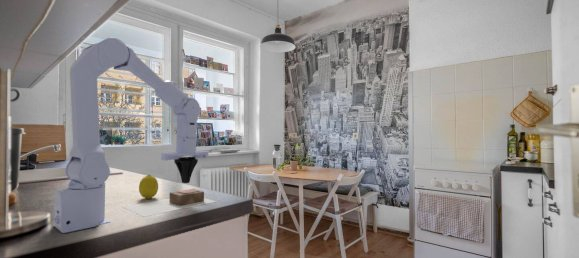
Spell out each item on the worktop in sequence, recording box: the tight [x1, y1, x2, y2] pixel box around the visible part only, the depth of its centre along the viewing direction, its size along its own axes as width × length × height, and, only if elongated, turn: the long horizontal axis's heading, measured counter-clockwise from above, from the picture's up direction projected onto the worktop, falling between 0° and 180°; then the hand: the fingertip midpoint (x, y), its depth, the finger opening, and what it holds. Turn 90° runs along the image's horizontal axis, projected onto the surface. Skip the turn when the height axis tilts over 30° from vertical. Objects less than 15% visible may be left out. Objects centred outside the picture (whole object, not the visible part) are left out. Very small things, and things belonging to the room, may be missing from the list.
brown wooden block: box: [169, 188, 205, 206], centre depth 91 cm, size 3×6×8 cm
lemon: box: [138, 174, 159, 200], centre depth 95 cm, size 6×6×8 cm
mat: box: [121, 197, 217, 217], centre depth 88 cm, size 22×14×1 cm, turn 140°
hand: (185, 182), depth 91 cm, fingers closed
